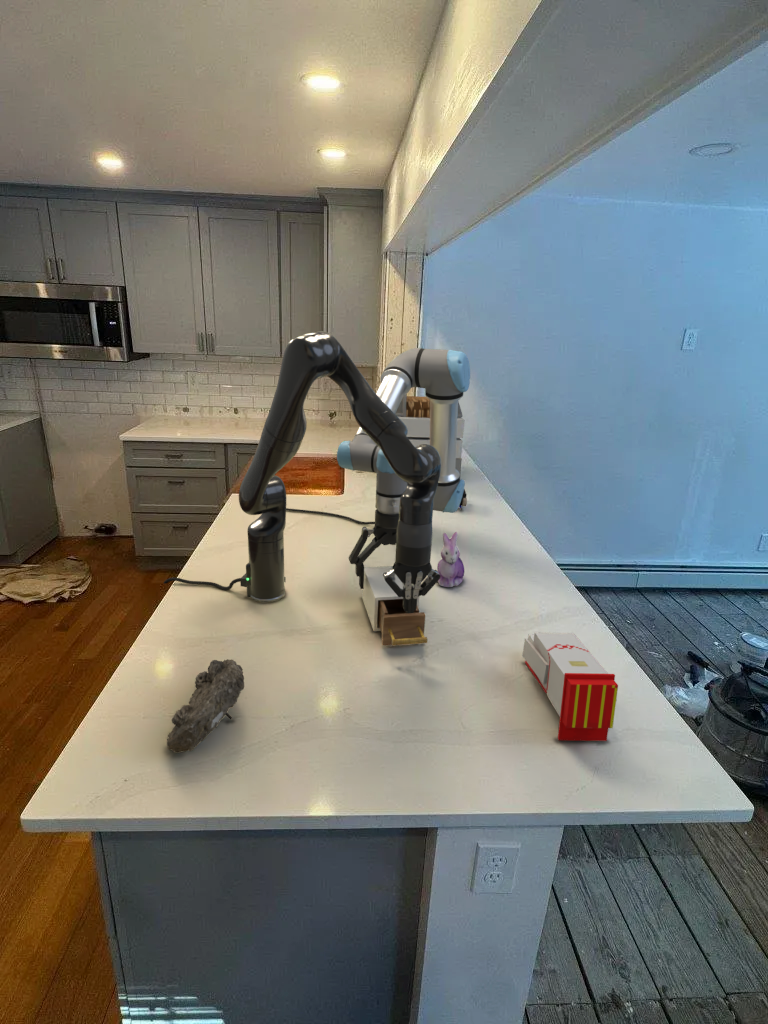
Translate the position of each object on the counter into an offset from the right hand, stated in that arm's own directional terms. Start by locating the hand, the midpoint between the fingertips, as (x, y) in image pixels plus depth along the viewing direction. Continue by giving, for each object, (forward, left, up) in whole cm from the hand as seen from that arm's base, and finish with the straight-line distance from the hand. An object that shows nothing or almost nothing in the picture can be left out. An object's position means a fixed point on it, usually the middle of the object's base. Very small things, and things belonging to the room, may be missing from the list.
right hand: (386, 585), depth 150 cm
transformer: (-88, +98, -6) cm, 132 cm away
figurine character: (-45, +76, -6) cm, 89 cm away
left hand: (+21, -12, +6) cm, 25 cm away
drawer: (+13, -8, -5) cm, 16 cm away
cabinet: (+3, -2, -6) cm, 7 cm away
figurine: (0, +24, -6) cm, 25 cm away
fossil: (+13, -55, -6) cm, 57 cm away
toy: (+50, +4, -6) cm, 51 cm away
